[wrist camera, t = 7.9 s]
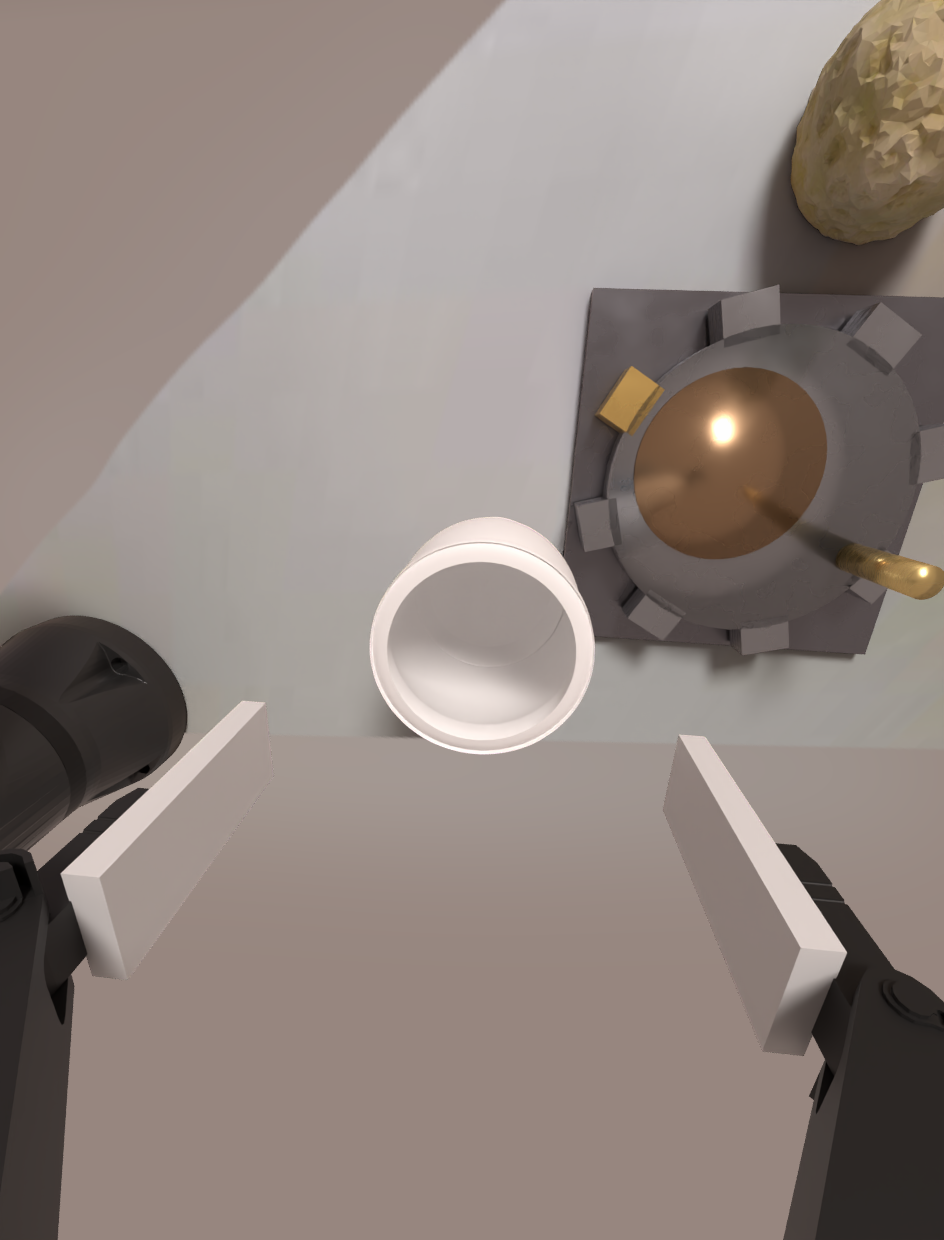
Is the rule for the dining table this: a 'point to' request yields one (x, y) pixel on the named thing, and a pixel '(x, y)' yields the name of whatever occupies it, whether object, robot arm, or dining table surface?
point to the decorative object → (876, 127)
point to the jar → (483, 639)
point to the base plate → (653, 344)
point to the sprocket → (765, 474)
